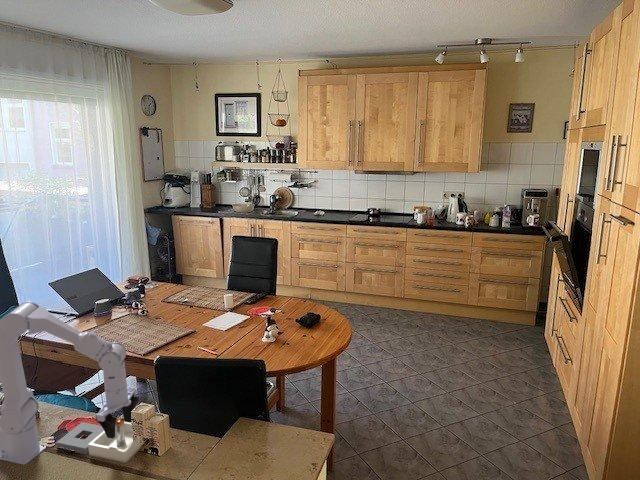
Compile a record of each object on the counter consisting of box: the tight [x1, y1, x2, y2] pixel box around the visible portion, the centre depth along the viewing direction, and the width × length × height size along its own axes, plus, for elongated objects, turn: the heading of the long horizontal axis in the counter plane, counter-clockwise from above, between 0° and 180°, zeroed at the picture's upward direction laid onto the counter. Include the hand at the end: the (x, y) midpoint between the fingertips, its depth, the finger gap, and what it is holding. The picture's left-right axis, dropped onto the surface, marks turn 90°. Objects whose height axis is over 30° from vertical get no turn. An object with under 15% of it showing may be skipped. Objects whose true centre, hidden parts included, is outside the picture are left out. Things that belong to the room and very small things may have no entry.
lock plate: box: [55, 421, 104, 456], centre depth 137 cm, size 10×10×2 cm
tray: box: [88, 421, 141, 464], centre depth 135 cm, size 12×12×4 cm
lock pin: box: [115, 417, 126, 446], centre depth 135 cm, size 2×2×8 cm
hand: (119, 429), depth 134 cm, fingers open, 7 cm apart
